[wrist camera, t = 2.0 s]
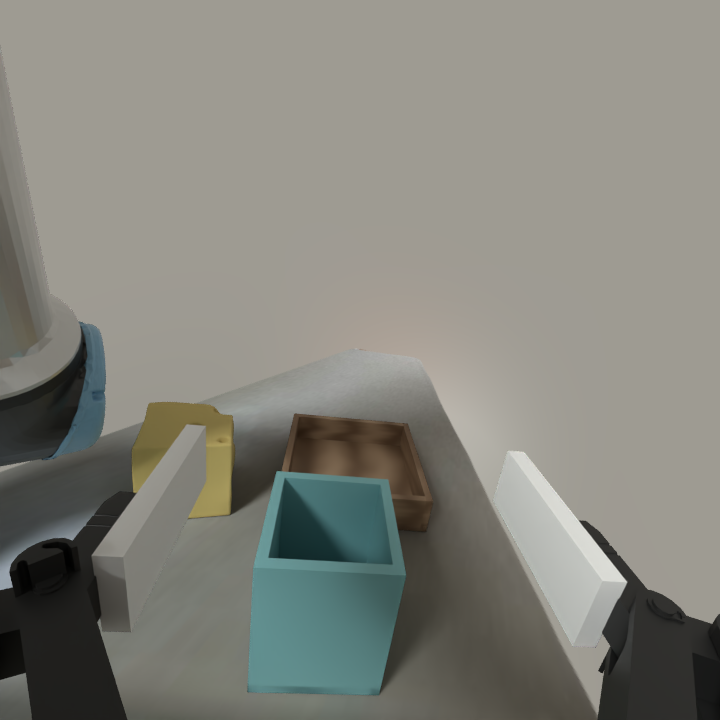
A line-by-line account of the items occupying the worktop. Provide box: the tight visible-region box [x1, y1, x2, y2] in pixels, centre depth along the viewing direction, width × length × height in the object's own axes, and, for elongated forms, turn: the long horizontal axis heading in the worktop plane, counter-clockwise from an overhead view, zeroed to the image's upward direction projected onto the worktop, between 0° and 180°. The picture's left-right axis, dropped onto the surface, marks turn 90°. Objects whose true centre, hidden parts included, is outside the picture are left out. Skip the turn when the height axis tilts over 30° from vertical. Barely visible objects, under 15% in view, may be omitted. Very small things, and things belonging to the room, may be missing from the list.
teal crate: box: [248, 471, 406, 695], centre depth 32 cm, size 10×10×12 cm
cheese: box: [132, 402, 235, 519], centre depth 46 cm, size 10×11×10 cm
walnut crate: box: [282, 414, 433, 532], centre depth 54 cm, size 18×18×4 cm
